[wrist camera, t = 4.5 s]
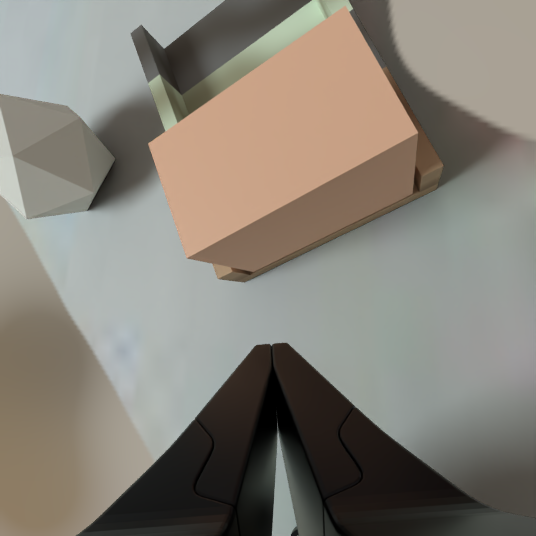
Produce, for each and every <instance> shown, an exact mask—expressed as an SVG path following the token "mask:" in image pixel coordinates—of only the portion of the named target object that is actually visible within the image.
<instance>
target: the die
mask: <svg viewBox="0 0 536 536" xmlns="http://www.w3.org/2000/svg"><path fill="white" fill-rule="evenodd" d="M114 161H115V158H114V157H113V155H112V154H111V153H110V152H109V151H108V149H107V148H106V147H105V146H104V145H103V144H102V142H101V141H100V140H99V139H98V138H97V137H96V135H95V134H94V133H93V132H92V131H91V129H90V128H89V127H88V126H87V125H86V124H85V122H84V121H83V120H82V119H81V118H80V117H79V116H78V115H77V114H76V113H75V112H73V111H72V110H71V109H70V108H69V107H68V106H65V105H59V104H53V103H48V102H42V101H37V100H31V99H25V98H20V97H14V96H8V95H3V94H0V195H1V196H2V197H3V198H4V199H5V200H7V201H8V202H9V203H10V204H11V205H12V206H13V207H14V208H15V209H16V210H17V211H18V212H20V213H21V214H22V215H23V216H24V217H25V218H26V219H32V218H39V217H47V216H54V215H61V214H69V213H76V212H83V211H87V210H88V208H89V206H90V204H91V203H92V201H93V199H94V197H95V195H96V193H97V192H98V190H99V188H100V186H101V184H102V183H103V181H104V179H105V177H106V175H107V174H108V172H109V170H110V168H111V166H112V164H113V163H114Z"/></svg>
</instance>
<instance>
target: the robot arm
mask: <svg viewBox="0 0 536 536" xmlns="http://www.w3.org/2000/svg"><path fill="white" fill-rule="evenodd" d="M276 411H277V412H276ZM277 423H278V430H277ZM278 432H279V438H280V443H281V448H282V453H283V458H284V463H285V468H286V473H287V478H288V483H289V488H290V493H291V498H292V503H293V508H294V513H295V518H296V523H297V527H295V528H294V530H293V532H292V534H291V536H297V535H298V536H536V518H532V517H526V516H521V515H516V514H511V513H507V512H503V511H500V510H497V509H494V508H492V507H489V506H487V505H485V504H483V503H481V502H479V501H478V500H476V499H474V498H473V497H471V496H469V495H468V494H466V493H465V492H463V491H462V490H461V489H459V488H458V487H456V486H455V485H454V484H452V483H451V482H450V481H448V480H447V479H446V478H444V477H443V476H442V475H440V474H439V473H438V472H436V471H435V470H434V469H432V468H431V467H430V466H428V465H427V464H425V463H424V462H423V461H421V460H420V459H419V458H417V457H416V456H415V455H413V454H412V453H411V452H409V451H408V450H407V449H405V448H404V447H403V446H401V445H400V444H399V443H398V442H396V441H395V440H394V439H392V438H391V437H390V436H389V435H387V434H386V433H385V432H383V431H382V430H381V429H380V428H379V427H378V426H377V425H375V424H374V423H373V422H372V421H371V420H370V419H369V418H367V417H366V416H365V415H364V414H363V413H362V412H361V411H360V410H359V409H358V408H356V407H355V406H354V405H353V404H352V403H351V402H350V401H349V400H348V399H347V398H346V397H345V396H344V395H342V394H341V393H340V392H339V391H338V390H337V389H336V388H335V387H334V386H333V385H332V384H331V383H330V382H329V381H327V380H326V379H325V378H324V377H323V376H322V375H321V374H320V373H319V372H318V371H317V370H316V369H315V368H314V367H312V366H311V365H310V364H309V363H308V362H307V361H306V360H305V359H304V358H303V357H302V356H301V355H300V354H299V353H298V352H296V351H295V350H294V349H293V348H292V347H291V346H290V345H289V344H288V343H276V344H273V345H272V346H271V345H270V344H263V345H256V346H255V347H254V348H253V349H252V350H251V352H250V353H249V354H248V355H247V356H246V358H245V359H244V360H243V361H242V362H241V364H240V365H239V366H238V367H237V368H236V370H235V371H234V372H233V373H232V374H231V376H230V377H229V378H228V379H227V380H226V382H225V383H224V384H223V385H222V387H221V388H220V389H219V390H218V391H217V393H216V394H215V395H214V396H213V397H212V399H211V400H210V401H209V402H208V403H207V405H206V406H205V407H204V408H203V409H202V411H201V412H200V413H199V414H198V415H197V417H196V418H195V420H193V421H192V422H191V424H190V425H189V426H188V427H187V428H186V430H185V431H184V432H183V433H182V434H181V435H180V436H179V438H178V439H177V440H176V441H175V442H174V443H173V444H172V445H171V447H170V448H169V449H168V450H167V451H166V452H165V453H164V454H163V455H162V456H161V457H160V458H159V459H158V460H157V461H156V462H155V463H154V464H153V465H152V466H151V467H150V468H149V469H148V470H147V471H146V472H145V473H144V474H143V475H142V476H141V477H140V478H139V479H138V480H137V481H136V482H135V483H134V484H132V485H131V487H129V488H128V489H127V490H126V491H125V492H124V493H123V494H122V495H121V496H120V497H119V498H118V499H117V500H116V501H115V502H114V503H113V504H112V505H111V506H110V507H109V508H108V509H107V510H106V511H105V512H104V513H103V514H102V515H100V516H99V518H97V519H96V520H95V521H94V522H93V523H92V524H91V525H89V526H88V527H87V528H86V529H84V530H83V531H82V532H80V533H79V534H78V535H76V536H272V522H273V505H274V488H275V471H276V454H277V434H278Z"/></svg>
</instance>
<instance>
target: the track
mask: <svg viewBox="0 0 536 536" xmlns="http://www.w3.org/2000/svg"><path fill="white" fill-rule="evenodd" d="M344 6H346V7H347V9H348V11H349V13H350V14H351V16H352V18H353V20H354V21H355V23H356V25H357V26H358V28H359V30H360V32H361V33H362V35H363V37H364V39H365V40H366V42H367V44H368V46H369V47H370V49H371V51H372V53H373V54H374V56H375V58H376V60H377V61H378V63H379V65H380V67H381V68H382V70H383V72H384V74H385V75H386V77H387V79H388V81H389V82H390V84H391V86H392V88H393V89H394V91H395V93H396V95H397V96H398V98H399V100H400V102H401V103H402V105H403V107H404V109H405V110H406V112H407V114H408V116H409V117H410V119H411V121H412V123H413V124H414V126H415V128H416V130H417V131H418V141H417V151H416V162H415V173H414V184H413V194H411V195H409V196H407V197H405V198H403V199H401V200H399V201H397V202H395V203H393V204H391V205H389V206H387V207H385V208H383V209H381V210H379V211H377V212H375V213H373V214H371V215H368V216H366V217H364V218H362V219H360V220H358V221H356V222H354V223H352V224H350V225H348V226H346V227H344V228H342V229H340V230H338V231H336V232H334V233H332V234H330V235H328V236H326V237H324V238H322V239H320V240H318V241H315V242H313V243H311V244H309V245H307V246H305V247H303V248H301V249H299V250H297V251H295V252H293V253H291V254H289V255H287V256H285V257H283V258H281V259H279V260H277V261H275V262H273V263H271V264H269V265H267V266H265V267H262V268H260V269H258V270H256V271H254V272H251V271H246V270H241V269H237V268H232V267H227V266H222V265H217V264H213V267H214V269H215V272H216V275H217V278H218V279H222V280H229V281H237V282H246V281H248V280H250V279H252V278H254V277H256V276H258V275H261V274H263V273H265V272H267V271H269V270H271V269H273V268H275V267H277V266H279V265H281V264H283V263H285V262H287V261H289V260H292V259H294V258H296V257H298V256H300V255H302V254H304V253H306V252H308V251H310V250H312V249H314V248H316V247H318V246H320V245H322V244H325V243H327V242H329V241H331V240H333V239H335V238H337V237H339V236H341V235H343V234H345V233H347V232H349V231H351V230H353V229H356V228H358V227H360V226H362V225H364V224H366V223H368V222H370V221H372V220H374V219H376V218H378V217H380V216H382V215H384V214H386V213H389V212H391V211H393V210H395V209H397V208H399V207H401V206H403V205H405V204H407V203H409V202H411V201H413V200H415V199H417V198H420V197H422V196H424V195H426V194H428V193H430V192H432V191H434V190H436V189H437V186H438V183H439V180H440V176H441V173H442V170H443V166H444V165H443V164H442V162H441V160H440V158H439V157H438V155H437V153H436V151H435V150H434V148H433V146H432V145H431V143H430V141H429V139H428V138H427V136H426V134H425V132H424V131H423V129H422V127H421V125H420V124H419V122H418V120H417V119H416V117H415V115H414V113H413V112H412V110H411V108H410V106H409V105H408V103H407V101H406V99H405V98H404V96H403V94H402V93H401V91H400V89H399V87H398V86H397V84H396V82H395V80H394V79H393V77H392V75H391V73H390V72H389V70H388V68H387V67H386V65H385V63H384V61H383V60H382V58H381V56H380V54H379V53H378V51H377V49H376V48H375V46H374V44H373V42H372V41H371V39H370V37H369V35H368V34H367V32H366V30H365V28H364V27H363V25H362V23H361V22H360V20H359V18H358V16H357V15H356V13H355V11H354V9H353V8H352V6H351V4H350V2H349V1H348V0H225V1H224V2H223V3H221V4H220V5H219V6H218V7H216V8H215V9H214V10H213V11H211V12H210V13H209V14H208V15H206V16H205V17H204V18H202V19H201V20H200V21H199V22H197V23H196V24H195V25H194V26H192V27H191V28H190V29H189V30H187V31H186V32H185V33H184V34H182V35H181V36H180V37H179V38H177V39H176V40H175V41H174V42H172V43H171V44H170V45H169V46H167V47H166V48H165V49H164V48H163V47H162V46H161V45H160V44H159V43H158V42H157V41H156V40H155V39H154V38H153V37H152V36H151V35H150V34H149V33H148V31H147V30H146V29H145V28H144V27H143V26H142V25H140V26H139V27H138V28H137V29H136V30H134V31H133V32H132V33H131V36H132V39H133V42H134V45H135V47H136V50H137V53H138V56H139V59H140V61H141V64H142V67H143V70H144V73H145V76H146V78H147V81H148V84H149V87H150V90H151V92H152V95H153V98H154V101H155V104H156V106H157V109H158V112H159V115H160V118H161V121H162V123H163V126H164V129H165V131H167V130H168V129H170V128H171V127H173V126H174V125H175V124H177V123H178V122H180V121H181V120H183V119H184V118H185V117H187V116H188V115H190V114H191V113H193V112H194V111H195V110H197V109H198V108H200V107H201V106H203V105H204V104H205V103H207V102H208V101H210V100H211V99H213V98H214V97H215V96H217V95H218V94H220V93H221V92H223V91H224V90H225V89H227V88H228V87H230V86H231V85H233V84H234V83H235V82H237V81H238V80H240V79H241V78H243V77H244V76H245V75H247V74H248V73H250V72H251V71H253V70H254V69H255V68H257V67H258V66H260V65H261V64H263V63H264V62H265V61H267V60H268V59H270V58H271V57H273V56H274V55H275V54H277V53H278V52H280V51H281V50H282V49H284V48H285V47H287V46H288V45H290V44H291V43H292V42H294V41H295V40H297V39H298V38H300V37H301V36H302V35H304V34H305V33H307V32H308V31H310V30H311V29H312V28H314V27H315V26H317V25H318V24H320V23H321V22H322V21H324V20H325V19H327V18H328V17H330V16H331V15H332V14H334V13H335V12H337V11H338V10H340V9H341V8H342V7H344Z"/></svg>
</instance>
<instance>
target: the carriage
mask: <svg viewBox="0 0 536 536" xmlns="http://www.w3.org/2000/svg"><path fill="white" fill-rule="evenodd" d="M417 141H418V131H417V130H416V128H415V126H414V124H413V123H412V121H411V119H410V117H409V116H408V114H407V112H406V110H405V109H404V107H403V105H402V103H401V102H400V100H399V98H398V96H397V95H396V93H395V91H394V89H393V88H392V86H391V84H390V82H389V81H388V79H387V77H386V75H385V74H384V72H383V70H382V68H381V67H380V65H379V63H378V61H377V60H376V58H375V56H374V54H373V53H372V51H371V49H370V47H369V46H368V44H367V42H366V40H365V39H364V37H363V35H362V33H361V32H360V30H359V28H358V26H357V25H356V23H355V21H354V20H353V18H352V16H351V14H350V13H349V11H348V9H347V7H346V6H344V7H342V8H341V9H340V10H338V11H337V12H335V13H334V14H332V15H331V16H330V17H328V18H327V19H325V20H324V21H322V22H321V23H320V24H318V25H317V26H315V27H314V28H312V29H311V30H310V31H308V32H307V33H305V34H304V35H302V36H301V37H300V38H298V39H297V40H295V41H294V42H292V43H291V44H290V45H288V46H287V47H285V48H284V49H282V50H281V51H280V52H278V53H277V54H275V55H274V56H273V57H271V58H270V59H268V60H267V61H265V62H264V63H263V64H261V65H260V66H258V67H257V68H255V69H254V70H253V71H251V72H250V73H248V74H247V75H245V76H244V77H243V78H241V79H240V80H238V81H237V82H235V83H234V84H233V85H231V86H230V87H228V88H227V89H225V90H224V91H223V92H221V93H220V94H218V95H217V96H215V97H214V98H213V99H211V100H210V101H208V102H207V103H205V104H204V105H203V106H201V107H200V108H198V109H197V110H195V111H194V112H193V113H191V114H190V115H188V116H187V117H185V118H184V119H183V120H181V121H180V122H178V123H177V124H175V125H174V126H173V127H171V128H170V129H168V130H167V131H165V132H164V133H163V134H161V135H160V136H158V137H157V138H155V139H154V140H153V141H151V142H150V143H148V145H149V148H150V151H151V154H152V157H153V160H154V163H155V166H156V168H157V171H158V174H159V177H160V180H161V183H162V186H163V189H164V192H165V195H166V198H167V201H168V204H169V207H170V210H171V213H172V216H173V219H174V222H175V225H176V228H177V231H178V234H179V237H180V240H181V243H182V246H183V248H184V251H185V254H186V257H187V258H188V259H193V260H198V261H203V262H207V263H212V264H217V265H222V266H227V267H232V268H237V269H241V270H246V271H251V272H254V271H256V270H258V269H260V268H262V267H265V266H267V265H269V264H271V263H273V262H275V261H277V260H279V259H281V258H283V257H285V256H287V255H289V254H291V253H293V252H295V251H297V250H299V249H301V248H303V247H305V246H307V245H309V244H311V243H313V242H315V241H318V240H320V239H322V238H324V237H326V236H328V235H330V234H332V233H334V232H336V231H338V230H340V229H342V228H344V227H346V226H348V225H350V224H352V223H354V222H356V221H358V220H360V219H362V218H364V217H366V216H368V215H371V214H373V213H375V212H377V211H379V210H381V209H383V208H385V207H387V206H389V205H391V204H393V203H395V202H397V201H399V200H401V199H403V198H405V197H407V196H409V195H411V194H413V184H414V173H415V162H416V151H417Z"/></svg>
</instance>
